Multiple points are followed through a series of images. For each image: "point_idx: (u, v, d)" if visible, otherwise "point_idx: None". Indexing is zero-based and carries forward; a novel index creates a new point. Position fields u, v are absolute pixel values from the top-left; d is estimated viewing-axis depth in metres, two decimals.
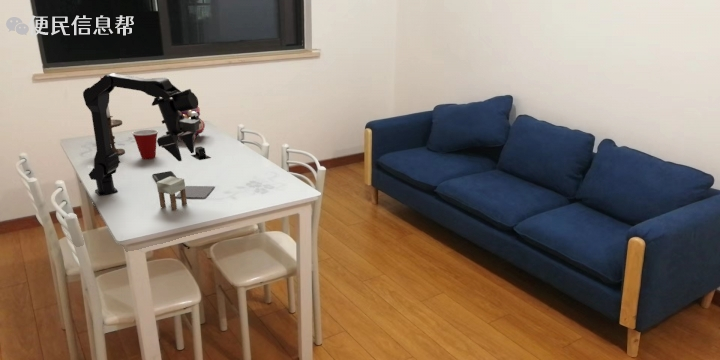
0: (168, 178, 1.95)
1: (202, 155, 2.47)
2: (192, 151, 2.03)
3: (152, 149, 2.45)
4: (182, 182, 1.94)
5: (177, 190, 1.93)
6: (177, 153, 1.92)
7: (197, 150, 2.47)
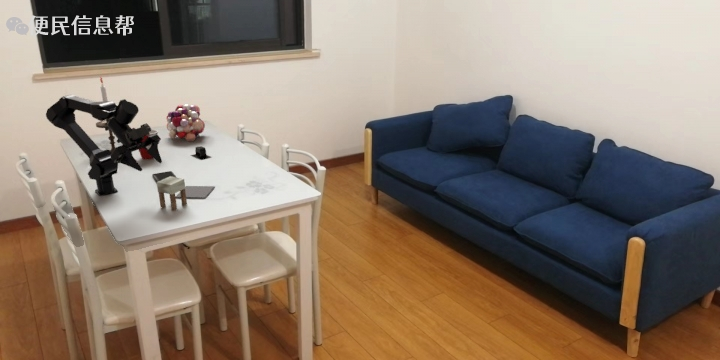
0: (168, 178, 1.95)
1: (203, 155, 2.48)
2: (160, 161, 1.99)
3: None
4: (182, 182, 1.94)
5: (177, 190, 1.93)
6: (134, 163, 1.90)
7: (198, 150, 2.47)
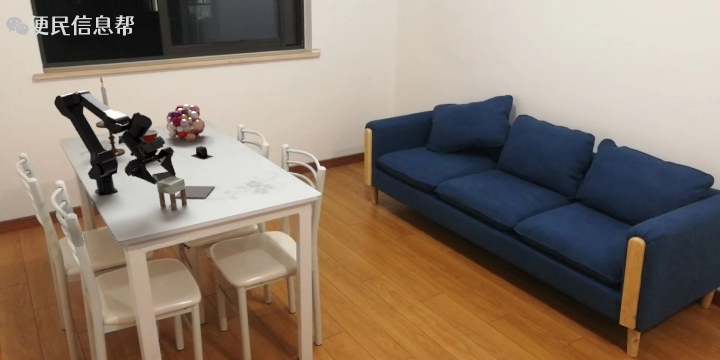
0: (168, 178, 1.95)
1: (204, 154, 2.48)
2: (173, 173, 1.98)
3: None
4: (182, 182, 1.94)
5: (177, 190, 1.93)
6: (148, 176, 1.89)
7: (199, 150, 2.47)
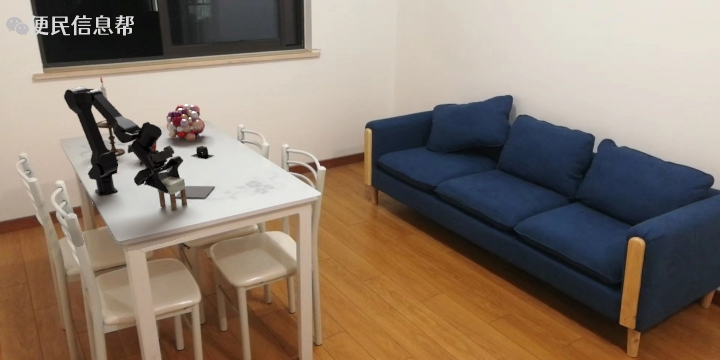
0: (168, 178, 1.95)
1: (205, 154, 2.49)
2: None
3: None
4: (182, 182, 1.94)
5: (177, 190, 1.93)
6: (160, 185, 1.90)
7: (200, 149, 2.48)
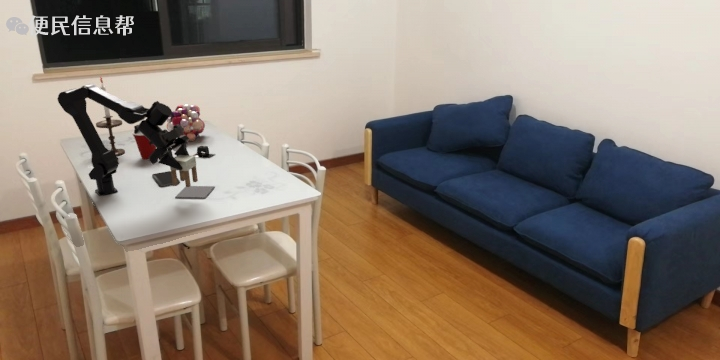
0: (179, 156, 1.99)
1: (207, 153, 2.50)
2: None
3: (152, 149, 2.45)
4: (193, 159, 1.99)
5: (190, 167, 1.97)
6: (175, 162, 1.94)
7: (201, 149, 2.48)
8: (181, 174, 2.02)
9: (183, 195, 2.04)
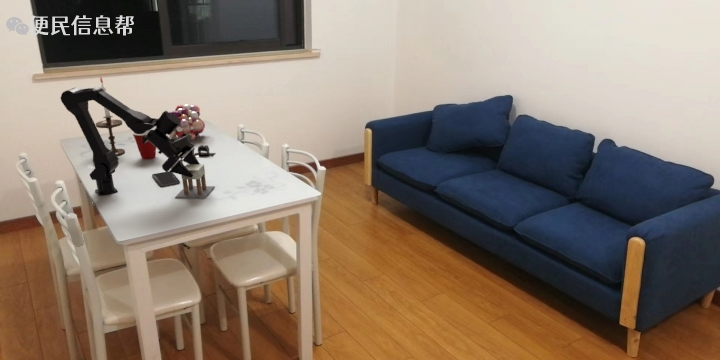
0: (188, 166, 2.06)
1: (208, 152, 2.51)
2: None
3: (152, 149, 2.45)
4: (203, 167, 2.07)
5: (201, 175, 2.05)
6: (185, 170, 1.99)
7: (203, 148, 2.49)
8: (190, 183, 2.09)
9: (183, 195, 2.04)
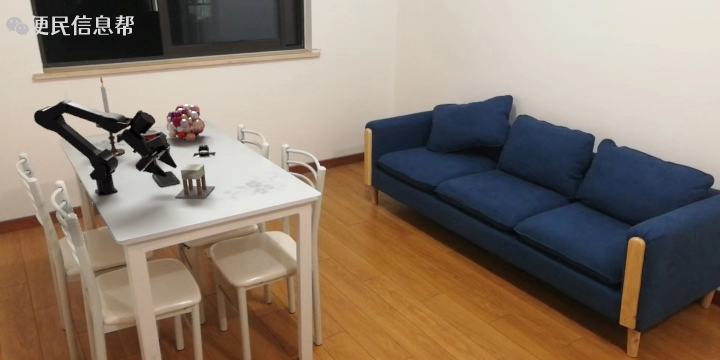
0: (188, 166, 2.06)
1: (208, 152, 2.52)
2: (175, 166, 2.10)
3: None
4: (203, 167, 2.07)
5: (201, 175, 2.05)
6: (159, 170, 2.00)
7: (204, 148, 2.50)
8: (190, 183, 2.09)
9: (183, 195, 2.04)
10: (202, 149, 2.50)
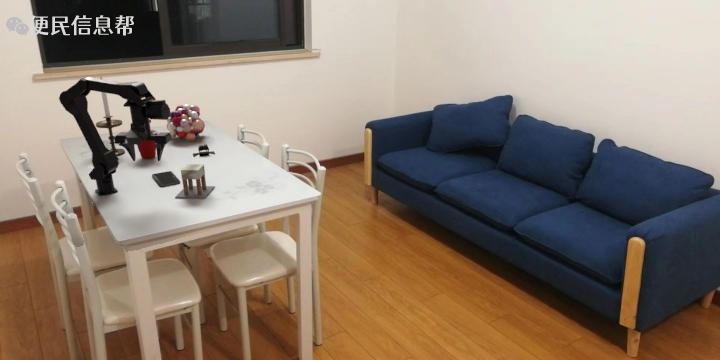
0: (188, 166, 2.06)
1: (208, 151, 2.53)
2: None
3: (152, 149, 2.45)
4: (203, 167, 2.07)
5: (201, 175, 2.05)
6: None
7: (204, 147, 2.50)
8: (190, 183, 2.09)
9: (183, 195, 2.04)
10: (203, 149, 2.50)
